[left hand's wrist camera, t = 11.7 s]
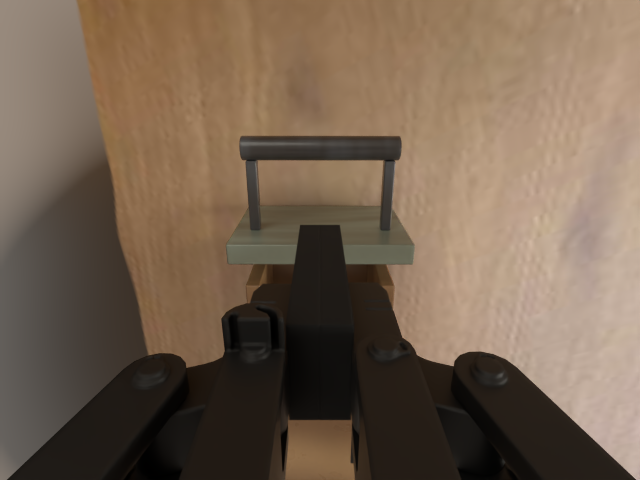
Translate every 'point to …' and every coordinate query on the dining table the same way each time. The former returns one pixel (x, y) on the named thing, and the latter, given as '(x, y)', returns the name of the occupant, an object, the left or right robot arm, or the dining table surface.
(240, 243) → the drawer
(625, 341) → the dining table surface
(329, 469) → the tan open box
